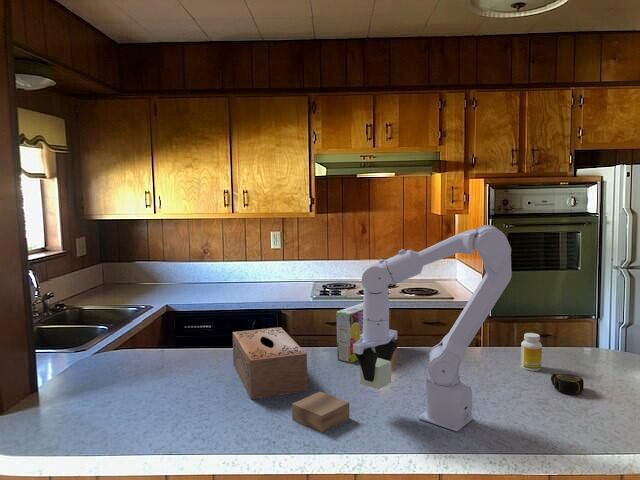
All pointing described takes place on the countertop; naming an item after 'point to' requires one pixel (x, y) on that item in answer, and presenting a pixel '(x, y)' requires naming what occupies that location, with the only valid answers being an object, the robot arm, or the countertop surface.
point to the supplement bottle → (531, 352)
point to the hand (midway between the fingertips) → (376, 376)
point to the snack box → (349, 332)
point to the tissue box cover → (269, 362)
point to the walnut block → (320, 411)
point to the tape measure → (567, 383)
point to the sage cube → (379, 374)
